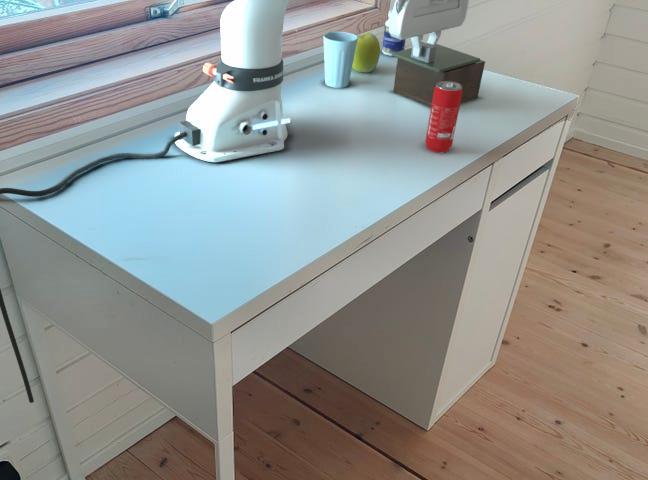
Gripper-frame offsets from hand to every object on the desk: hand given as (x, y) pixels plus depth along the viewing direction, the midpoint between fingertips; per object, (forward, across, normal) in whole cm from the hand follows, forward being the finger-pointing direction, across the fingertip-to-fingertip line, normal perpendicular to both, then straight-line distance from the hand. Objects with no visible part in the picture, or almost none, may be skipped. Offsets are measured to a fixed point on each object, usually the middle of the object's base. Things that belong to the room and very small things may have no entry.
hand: (423, 54), depth 146 cm
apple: (+10, +4, +22) cm, 25 cm away
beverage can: (+10, -16, -20) cm, 27 cm away
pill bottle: (+10, +20, +27) cm, 35 cm away
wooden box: (+10, +6, 0) cm, 12 cm away
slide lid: (+2, +5, 0) cm, 5 cm away
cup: (+10, -8, +18) cm, 22 cm away
